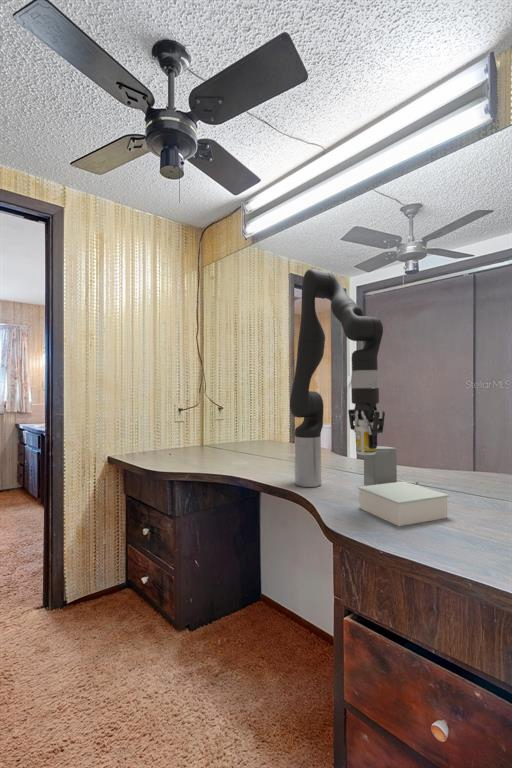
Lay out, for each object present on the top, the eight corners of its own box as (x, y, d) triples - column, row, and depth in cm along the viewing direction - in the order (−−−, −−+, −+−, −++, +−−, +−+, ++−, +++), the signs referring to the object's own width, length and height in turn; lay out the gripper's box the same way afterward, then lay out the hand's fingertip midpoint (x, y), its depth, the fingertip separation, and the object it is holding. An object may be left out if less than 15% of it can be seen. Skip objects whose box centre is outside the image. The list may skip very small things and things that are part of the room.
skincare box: (374, 501, 119) (374, 448, 119) (362, 495, 126) (361, 445, 126) (399, 498, 121) (398, 447, 121) (385, 492, 128) (384, 444, 128)
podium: (358, 507, 112) (357, 486, 112) (403, 501, 118) (403, 481, 118) (398, 526, 97) (398, 502, 97) (449, 518, 103) (448, 495, 103)
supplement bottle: (353, 454, 110) (352, 420, 110) (360, 451, 114) (360, 418, 114) (372, 455, 107) (371, 420, 107) (379, 453, 111) (378, 419, 111)
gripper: (339, 387, 116) (340, 444, 116) (369, 386, 103) (371, 451, 102) (360, 387, 119) (362, 443, 118) (392, 386, 105) (394, 449, 105)
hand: (366, 446), depth 110 cm, fingers closed on supplement bottle, 5 cm apart
